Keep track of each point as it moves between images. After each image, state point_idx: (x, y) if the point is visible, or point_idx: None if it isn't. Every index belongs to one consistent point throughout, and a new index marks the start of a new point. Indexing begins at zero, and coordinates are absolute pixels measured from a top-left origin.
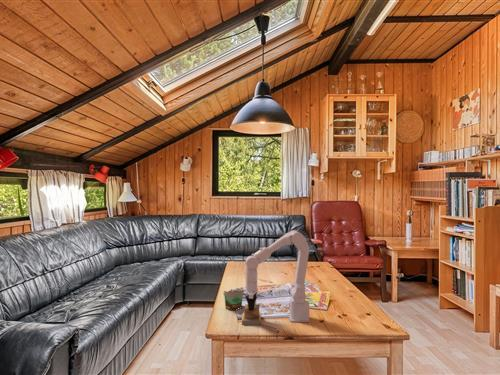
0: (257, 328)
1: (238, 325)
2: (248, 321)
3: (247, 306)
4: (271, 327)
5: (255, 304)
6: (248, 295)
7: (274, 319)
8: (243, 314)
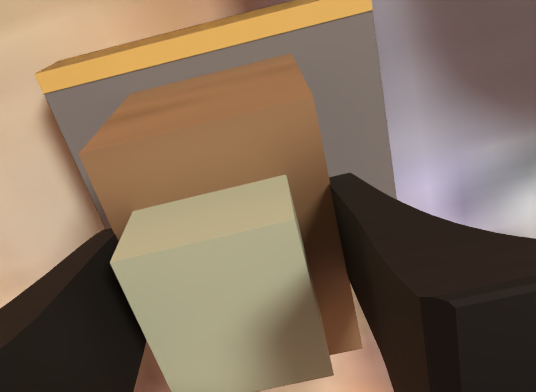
0: (54, 266)
1: (14, 18)
2: (83, 165)
3: (207, 180)
4: (141, 373)
5: (174, 389)
6: (395, 299)
7: (337, 360)
8: (273, 26)
